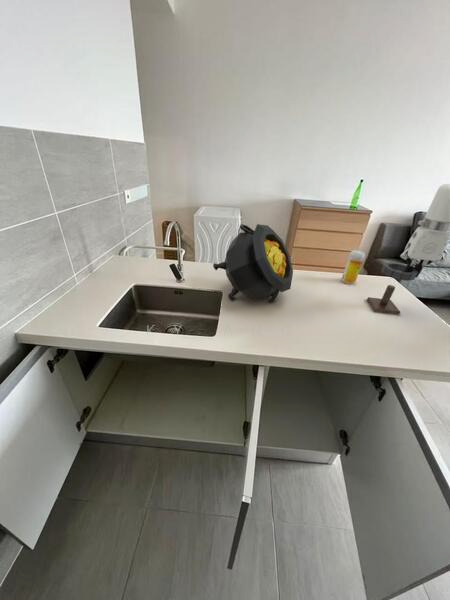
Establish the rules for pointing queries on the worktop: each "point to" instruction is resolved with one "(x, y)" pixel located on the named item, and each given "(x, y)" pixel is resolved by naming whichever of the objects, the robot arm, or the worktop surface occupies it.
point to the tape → (398, 271)
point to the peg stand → (384, 302)
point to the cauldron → (257, 264)
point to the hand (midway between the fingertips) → (410, 275)
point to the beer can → (353, 266)
